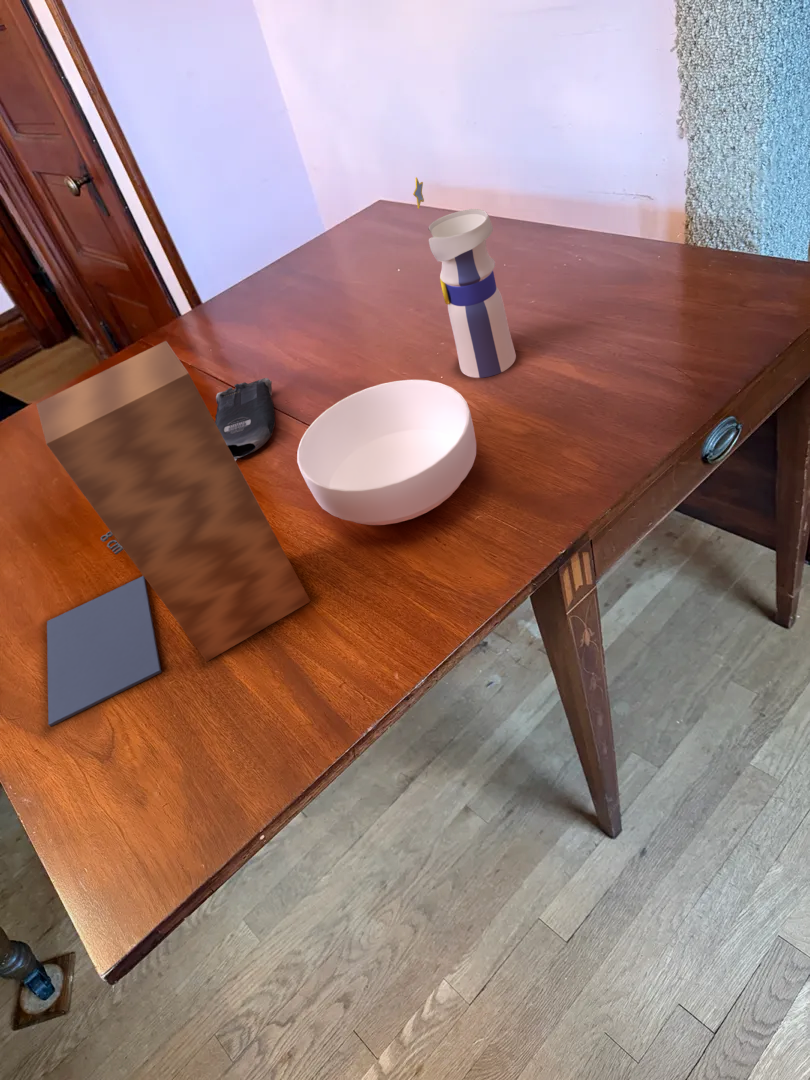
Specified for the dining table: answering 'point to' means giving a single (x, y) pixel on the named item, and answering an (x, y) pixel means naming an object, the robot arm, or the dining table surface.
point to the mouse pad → (100, 650)
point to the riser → (173, 497)
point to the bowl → (389, 451)
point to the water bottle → (471, 291)
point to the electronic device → (246, 416)
